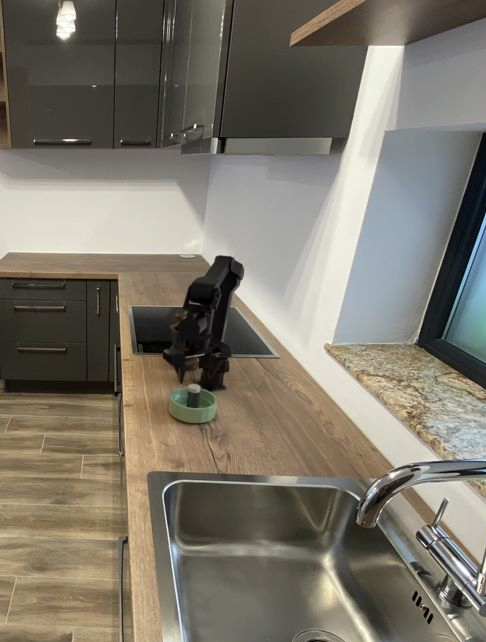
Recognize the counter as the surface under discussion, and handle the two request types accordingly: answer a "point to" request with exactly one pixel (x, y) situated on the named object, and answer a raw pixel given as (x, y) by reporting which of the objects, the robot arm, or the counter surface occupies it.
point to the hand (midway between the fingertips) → (195, 381)
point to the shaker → (193, 396)
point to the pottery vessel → (190, 361)
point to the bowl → (192, 414)
